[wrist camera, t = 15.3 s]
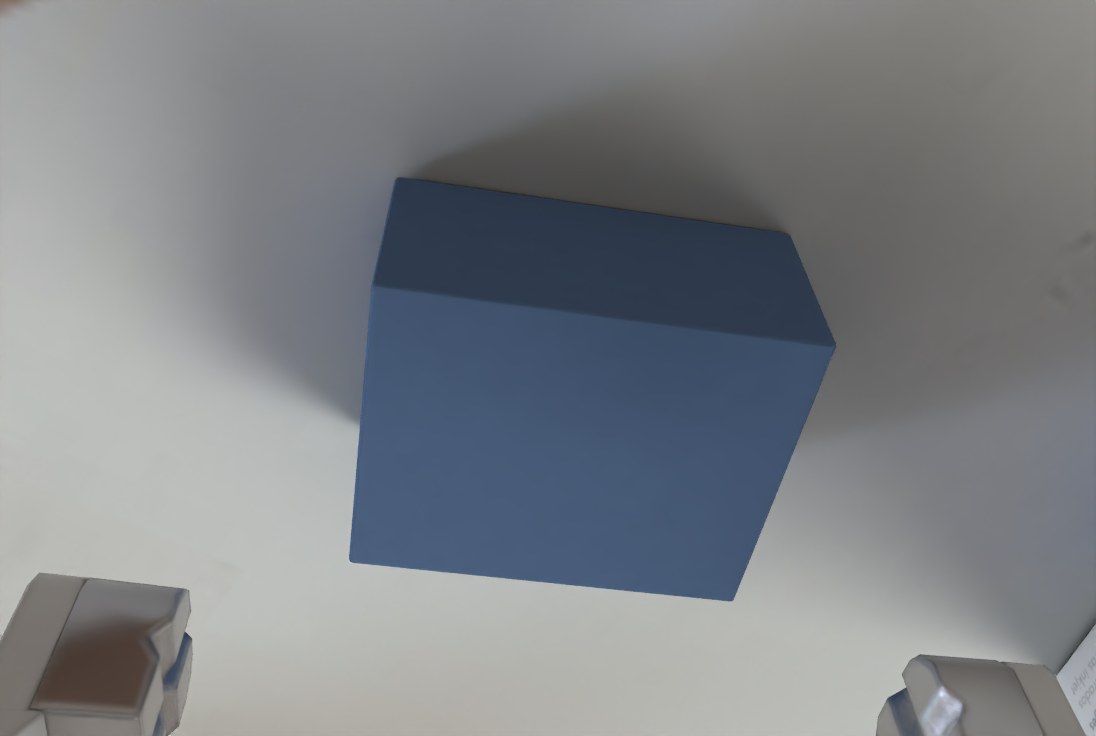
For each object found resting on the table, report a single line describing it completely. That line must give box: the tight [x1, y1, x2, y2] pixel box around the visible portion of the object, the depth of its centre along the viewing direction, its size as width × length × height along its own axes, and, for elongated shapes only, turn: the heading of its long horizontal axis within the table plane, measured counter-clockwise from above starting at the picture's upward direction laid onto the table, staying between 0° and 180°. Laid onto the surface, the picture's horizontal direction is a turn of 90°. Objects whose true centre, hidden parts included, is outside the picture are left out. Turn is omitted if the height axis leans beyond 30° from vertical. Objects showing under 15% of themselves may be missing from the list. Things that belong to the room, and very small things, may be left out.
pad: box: [349, 177, 836, 601], centre depth 16 cm, size 6×5×3 cm
